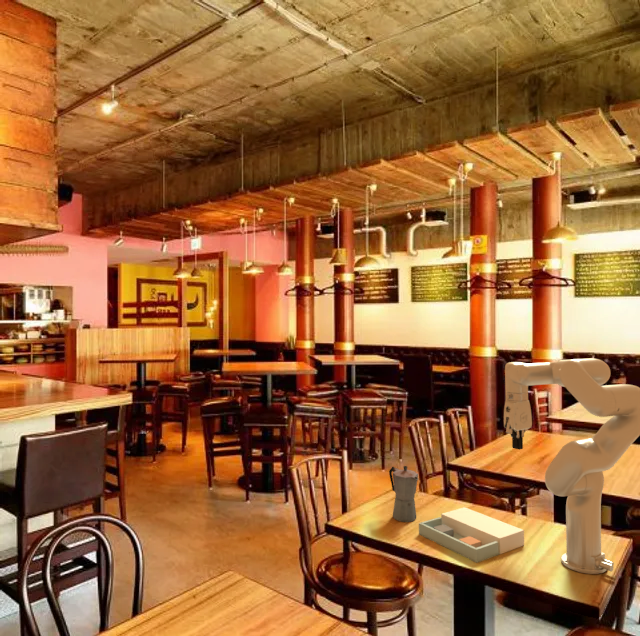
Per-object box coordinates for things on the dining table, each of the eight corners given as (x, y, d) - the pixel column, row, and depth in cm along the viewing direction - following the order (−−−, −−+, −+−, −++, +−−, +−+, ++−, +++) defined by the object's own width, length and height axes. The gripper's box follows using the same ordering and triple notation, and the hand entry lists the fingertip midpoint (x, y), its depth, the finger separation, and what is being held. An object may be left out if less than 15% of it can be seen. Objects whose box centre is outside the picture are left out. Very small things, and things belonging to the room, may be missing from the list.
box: (499, 554, 169) (499, 541, 169) (476, 562, 164) (476, 549, 164) (440, 527, 192) (440, 516, 192) (418, 534, 186) (418, 523, 186)
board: (524, 545, 176) (524, 530, 176) (500, 554, 170) (499, 538, 170) (464, 520, 198) (464, 507, 198) (441, 527, 192) (441, 513, 192)
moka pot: (410, 526, 193) (409, 472, 193) (380, 515, 205) (379, 463, 205) (427, 520, 199) (426, 467, 199) (396, 509, 211) (396, 459, 211)
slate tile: (442, 532, 180) (442, 539, 180) (453, 529, 182) (453, 536, 182) (432, 527, 185) (432, 534, 185) (444, 524, 187) (444, 531, 187)
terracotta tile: (470, 544, 170) (470, 552, 170) (481, 541, 172) (481, 549, 172) (458, 539, 174) (458, 547, 174) (469, 536, 177) (469, 543, 177)
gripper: (511, 400, 181) (512, 453, 181) (539, 396, 189) (540, 447, 189) (494, 397, 188) (494, 449, 188) (521, 394, 196) (522, 443, 196)
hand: (517, 448), depth 188 cm, fingers closed
